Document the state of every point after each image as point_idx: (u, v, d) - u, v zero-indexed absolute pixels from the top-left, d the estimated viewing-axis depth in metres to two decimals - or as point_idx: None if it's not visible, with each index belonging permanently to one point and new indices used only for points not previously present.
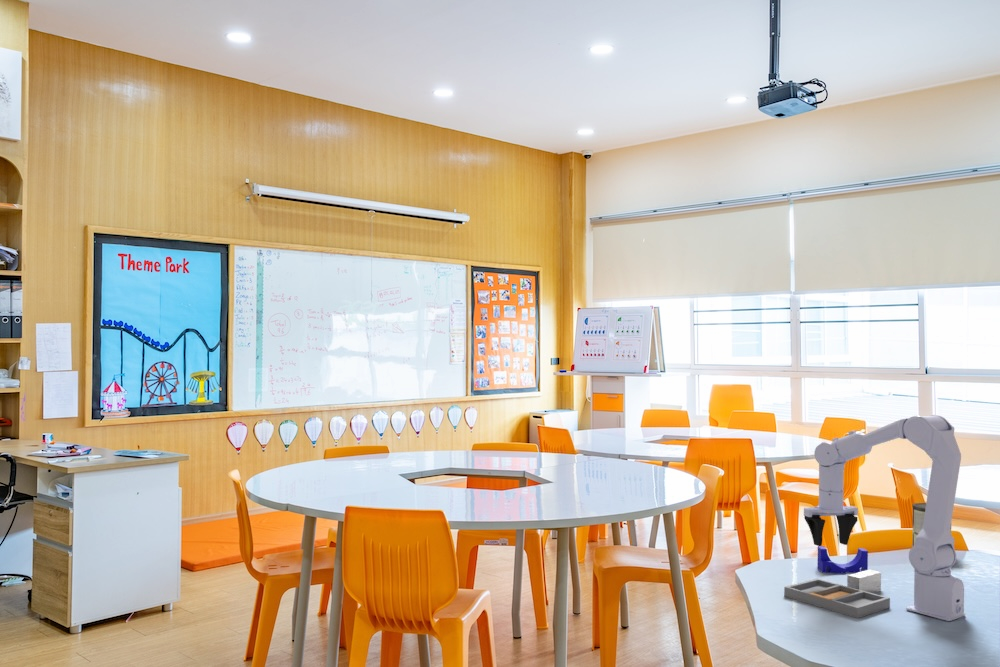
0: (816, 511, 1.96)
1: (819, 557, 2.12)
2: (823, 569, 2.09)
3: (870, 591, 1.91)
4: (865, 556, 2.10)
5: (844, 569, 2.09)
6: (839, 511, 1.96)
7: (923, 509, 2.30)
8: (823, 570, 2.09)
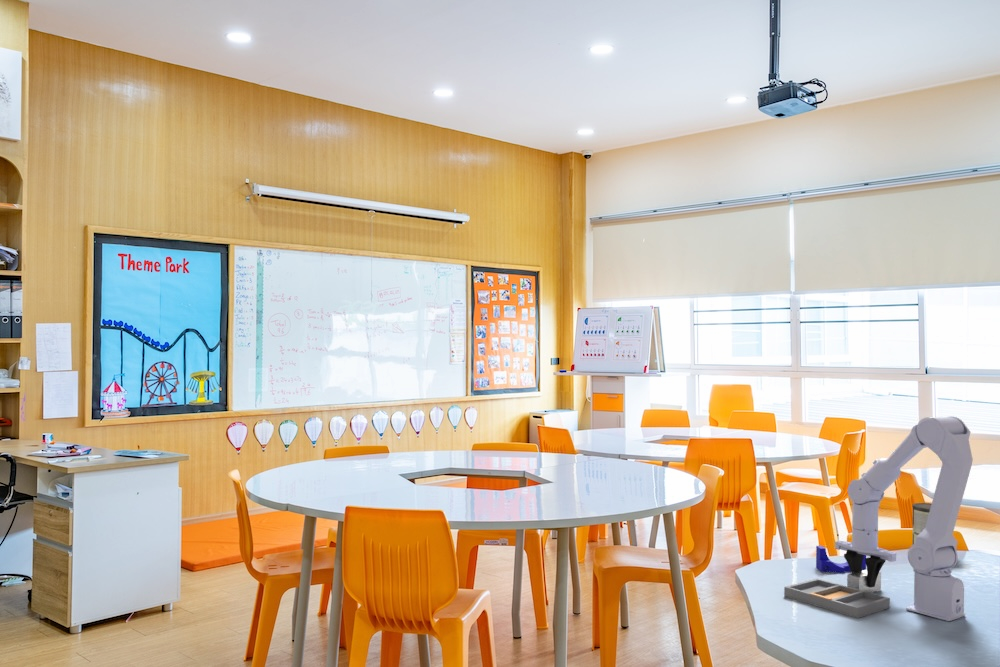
0: (841, 545, 1.96)
1: (818, 557, 2.12)
2: (822, 568, 2.10)
3: (870, 590, 1.91)
4: None
5: (843, 568, 2.09)
6: (858, 549, 1.91)
7: (923, 509, 2.30)
8: (822, 569, 2.10)
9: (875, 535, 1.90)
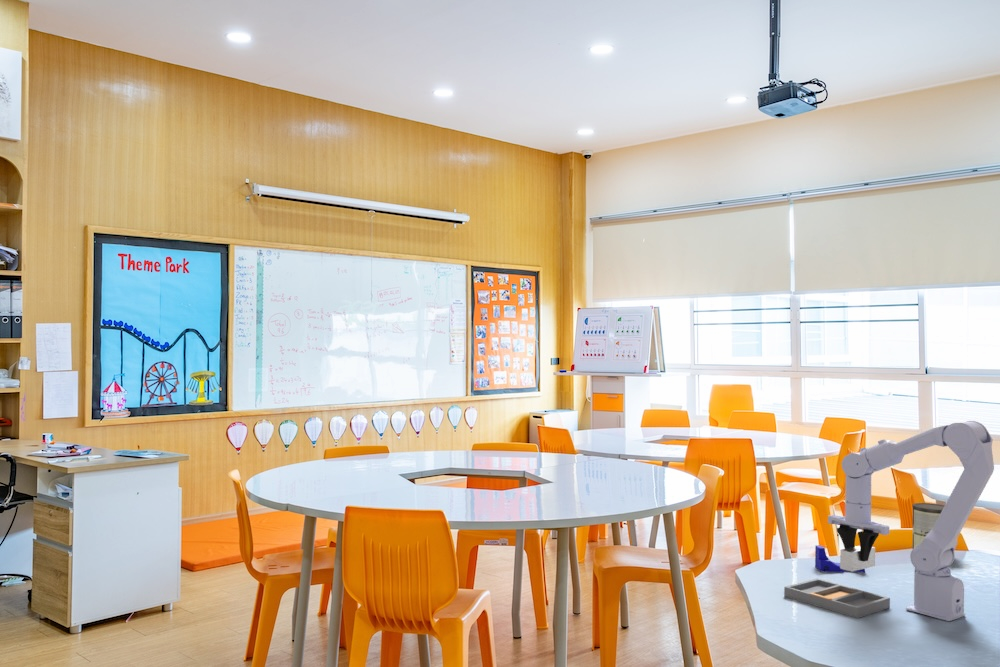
0: (834, 519, 1.94)
1: (817, 556, 2.13)
2: (821, 568, 2.10)
3: (864, 566, 1.89)
4: None
5: None
6: (851, 523, 1.89)
7: (923, 509, 2.30)
8: (821, 569, 2.10)
9: (868, 508, 1.88)
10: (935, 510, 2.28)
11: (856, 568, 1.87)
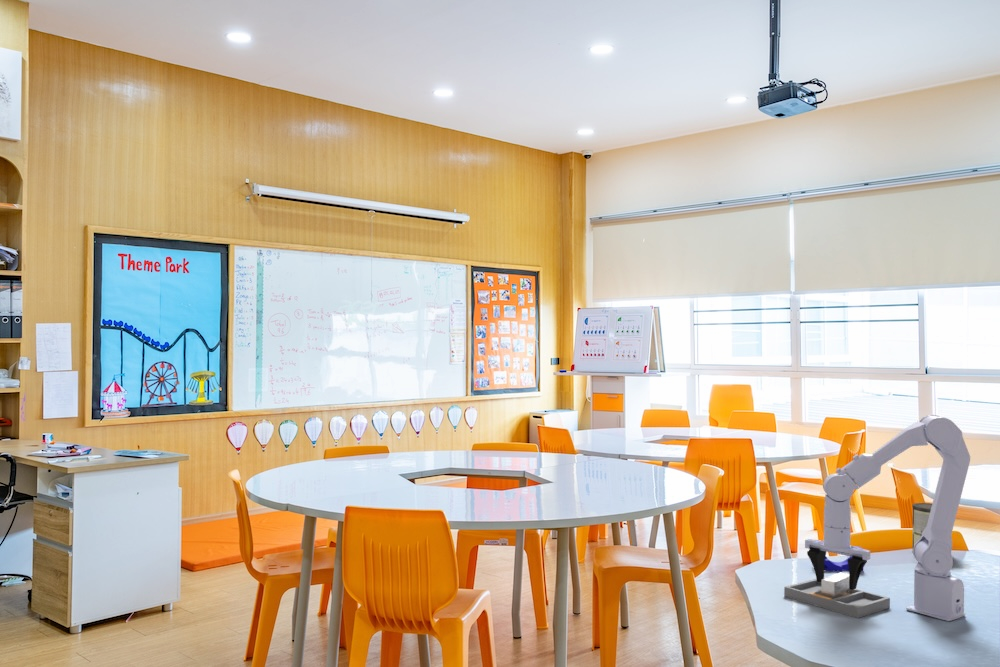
0: (812, 543, 1.87)
1: None
2: None
3: (843, 595, 1.83)
4: None
5: (840, 567, 2.11)
6: (831, 548, 1.82)
7: (923, 509, 2.30)
8: None
9: (848, 533, 1.82)
10: None
11: None
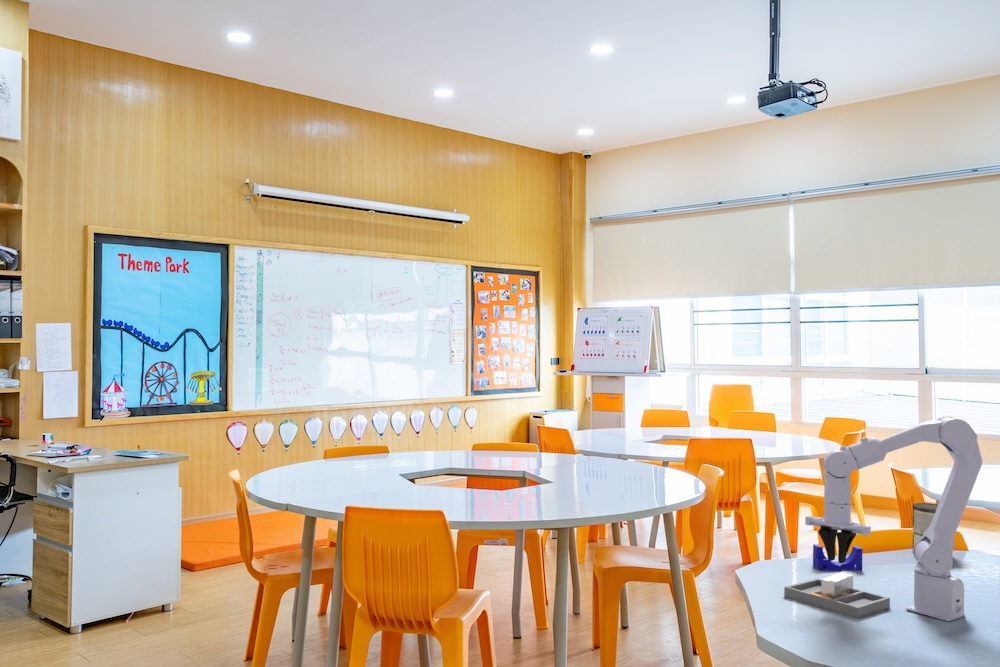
0: (812, 520, 1.87)
1: (815, 555, 2.14)
2: (819, 567, 2.12)
3: (843, 595, 1.83)
4: (860, 553, 2.12)
5: (839, 567, 2.11)
6: (831, 524, 1.82)
7: (923, 509, 2.30)
8: (819, 568, 2.11)
9: (848, 509, 1.82)
10: (935, 510, 2.28)
11: None
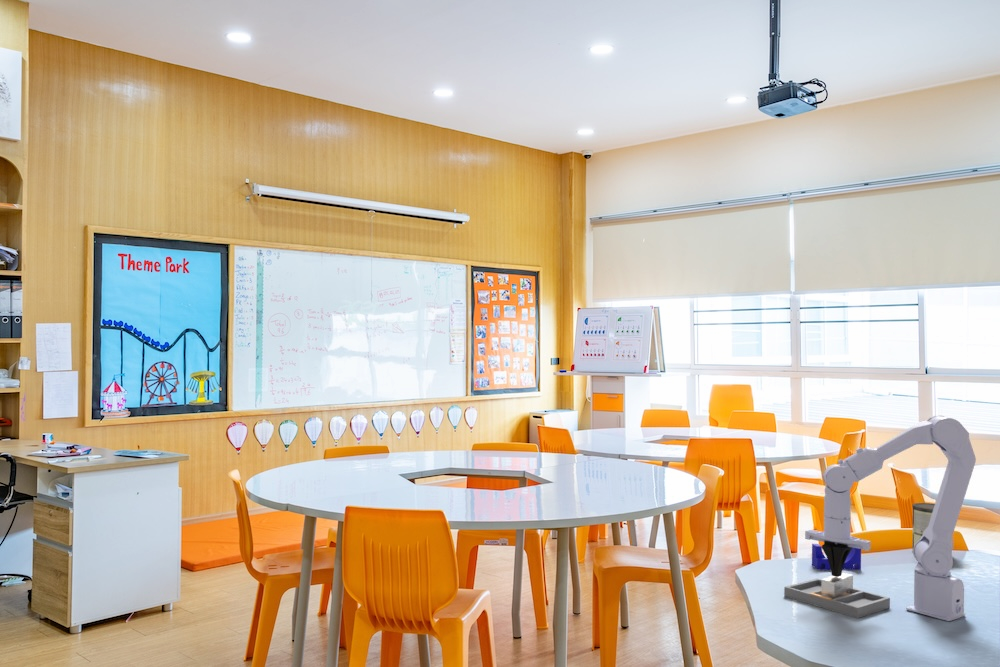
0: (812, 534, 1.87)
1: (814, 554, 2.15)
2: (818, 566, 2.12)
3: (843, 595, 1.83)
4: (858, 553, 2.13)
5: None
6: (831, 539, 1.82)
7: (923, 509, 2.30)
8: (818, 567, 2.12)
9: (848, 523, 1.82)
10: None
11: None
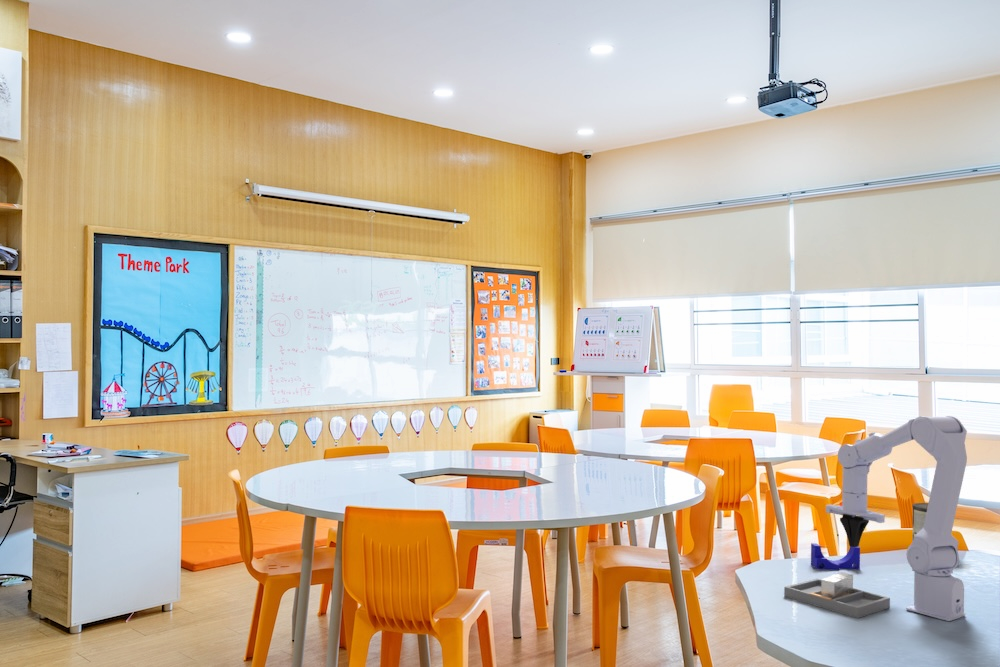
0: (832, 508, 2.03)
1: (813, 554, 2.15)
2: (817, 566, 2.13)
3: (843, 595, 1.83)
4: (857, 552, 2.14)
5: (837, 565, 2.12)
6: (848, 512, 1.97)
7: (923, 509, 2.30)
8: (817, 567, 2.13)
9: (864, 498, 1.97)
10: None
11: None
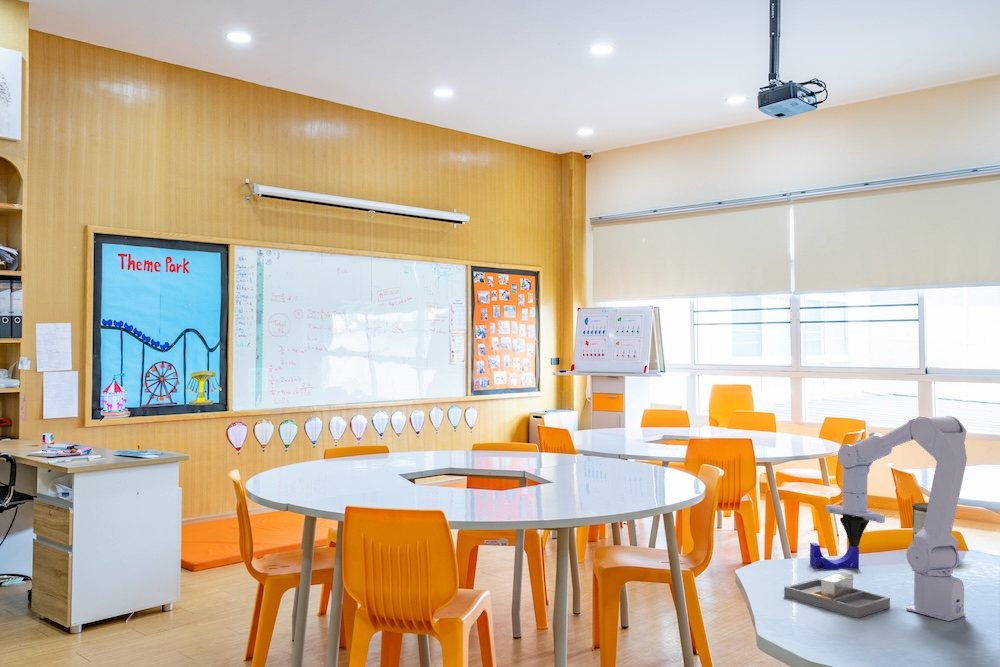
0: (832, 508, 2.03)
1: (812, 554, 2.16)
2: (816, 565, 2.13)
3: (843, 595, 1.83)
4: (856, 552, 2.14)
5: (836, 565, 2.13)
6: (848, 512, 1.98)
7: (923, 509, 2.30)
8: (816, 566, 2.13)
9: (864, 498, 1.97)
10: None
11: None
